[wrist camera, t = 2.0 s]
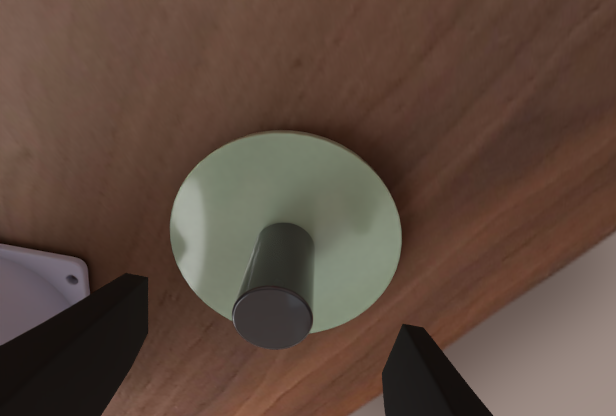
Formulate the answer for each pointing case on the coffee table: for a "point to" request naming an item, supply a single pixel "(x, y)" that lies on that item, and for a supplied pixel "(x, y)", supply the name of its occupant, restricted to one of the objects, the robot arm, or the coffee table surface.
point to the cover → (285, 235)
